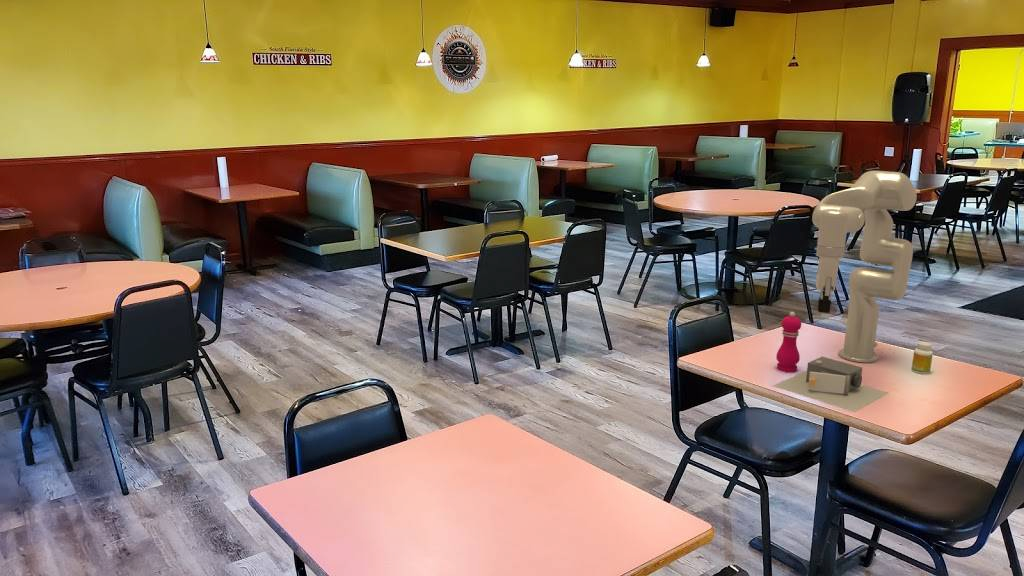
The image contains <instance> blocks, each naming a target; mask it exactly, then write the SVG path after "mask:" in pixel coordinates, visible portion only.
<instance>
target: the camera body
mask: <svg viewBox="0 0 1024 576" xmlns="http://www.w3.org/2000/svg"><path fill="white" fill-rule="evenodd" d="M806 371H807V376H806V382H808V383H809V377H810V372H818V373H827V374H835V375H844V376H846V375H849V376H850V382H849V390H848V393H849V392H851V391H853V390H855V389H857V388H859V387H860V385H862V381H863V376H862V374H863V367H862V366H858V365H854V364H851V363H847V362H844V361H841V360H836V359H832V358H830V357H825V356H820V357H818V358H816V359H813V360H810V361H809V362H807V367H806Z"/></svg>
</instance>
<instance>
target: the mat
mask: <svg viewBox="0 0 1024 576" xmlns="http://www.w3.org/2000/svg"><path fill="white" fill-rule="evenodd" d="M806 376H807V370H805V371H802V372H801V373H798V374H796V375H793V376H791V377H789V378H785V380H782V381H780V382H778V383H775V384H773V385H772V386H773V387H774V388H775V387H776V388H779V389H781V390H785V391H787V392H791V393H794V394H796V395H800V396H803V397H807V398H809V399H812V400H817V401H819V402H822V403H825V404H829V405H832V406H835V407H837V408H841V409H844V410H848V411H850V412H854V413H856V412H857V411H859V410H861V409H863V408H865V407H866V406H868V405H869V406H870V404H872V403H874V402H875V401H878V400H879V399H881V398H882V397H883V398H884V397H885V396H886V395H888V394H889V392H886V391H883V390H880V389H876V388H873V387H869V386H867V385H863V384H861V385H860V387H859V388H857V389H855V390H853V391H851V392H849V393H848V395H844V394H841V393H833V392H825V391H817V390H809V389H808V386H809V383H808V382H806Z"/></svg>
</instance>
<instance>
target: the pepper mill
mask: <svg viewBox="0 0 1024 576" xmlns="http://www.w3.org/2000/svg"><path fill="white" fill-rule="evenodd" d="M788 314H789V315H787V316H785V317H784V318H782V320H781V327H782V329H783V330H782V332H781V335H782V336H783V339H782V343H781V345H780V346H779V348H778V350H777V352H776V355H775V358H776V360H777V364H776V369H777V370H778V371H780V372H784V373H796V372H797V370H798V365H797V364H798V363H799V362H800V359H801V358H800V352H799V350H798V347H797V338H798V337H799V334H800V331H799V330H800V329H801V328H802V321H801V319H800V318H799V317H797V316H796V312H795V311H790V312H789V313H788Z"/></svg>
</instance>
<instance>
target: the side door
mask: <svg viewBox="0 0 1024 576" xmlns="http://www.w3.org/2000/svg"><path fill="white" fill-rule="evenodd" d="M849 382H850V376H849V375H846V376H844V375H835V374H827V373H818V372H810V377H809V386H808V389H809V390H817V391H825V392H833V393H841V394H844V395H848V390H849Z"/></svg>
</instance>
